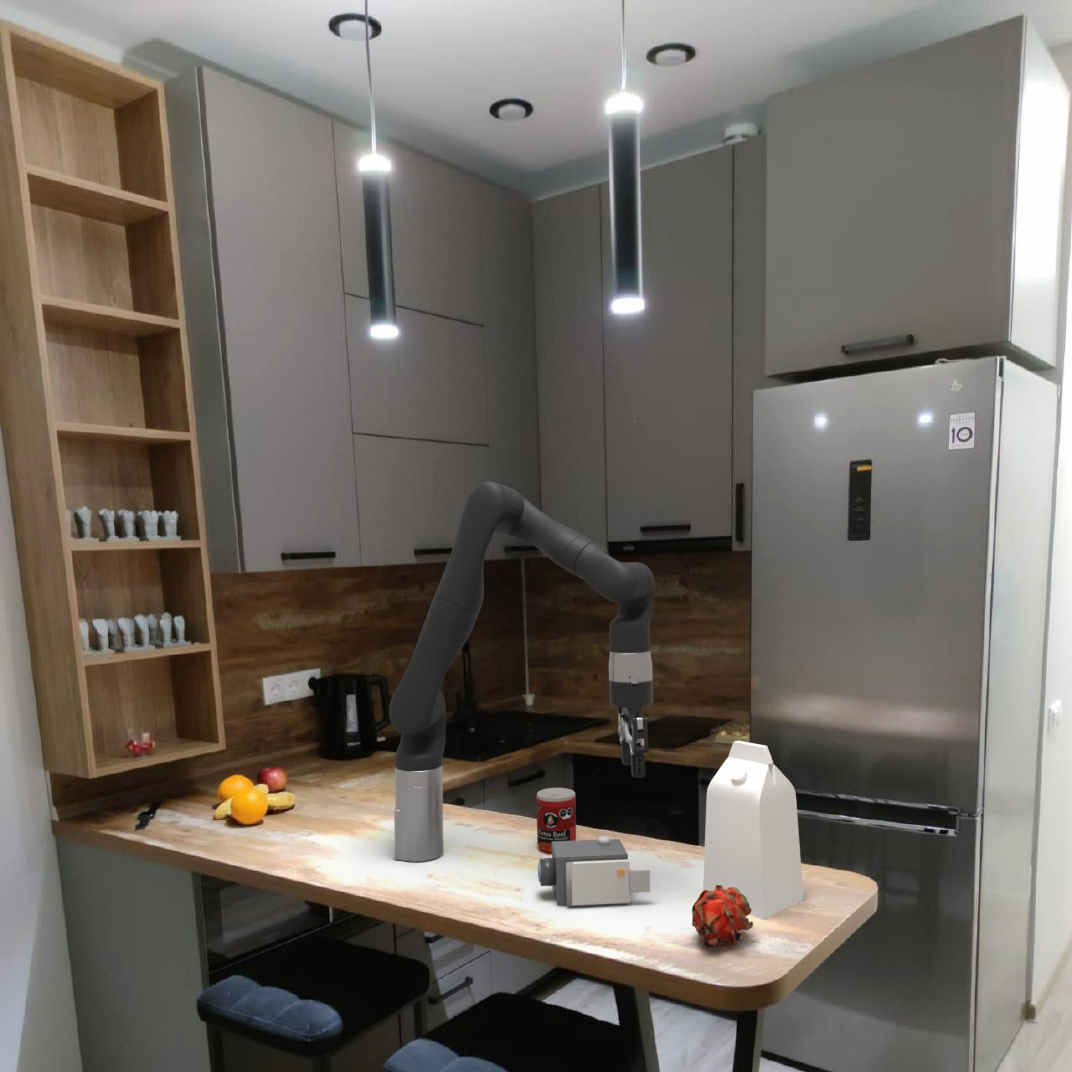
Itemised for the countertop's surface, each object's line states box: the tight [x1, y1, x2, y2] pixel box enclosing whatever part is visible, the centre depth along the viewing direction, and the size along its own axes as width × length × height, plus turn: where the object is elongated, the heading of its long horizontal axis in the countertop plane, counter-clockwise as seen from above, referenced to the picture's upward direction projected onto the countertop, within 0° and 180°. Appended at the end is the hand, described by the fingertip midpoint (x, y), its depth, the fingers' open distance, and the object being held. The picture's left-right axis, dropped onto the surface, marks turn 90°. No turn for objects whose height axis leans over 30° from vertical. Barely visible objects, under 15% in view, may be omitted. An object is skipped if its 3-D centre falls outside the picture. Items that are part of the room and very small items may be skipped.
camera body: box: [537, 835, 629, 907], centre depth 149 cm, size 15×8×9 cm, turn 95°
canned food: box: [536, 787, 577, 855], centre depth 173 cm, size 8×8×11 cm
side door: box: [565, 858, 651, 907], centre depth 145 cm, size 14×1×7 cm, turn 95°
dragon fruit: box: [691, 885, 754, 948], centre depth 131 cm, size 8×8×12 cm
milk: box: [702, 740, 804, 920], centre depth 147 cm, size 12×12×26 cm
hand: (633, 770), depth 151 cm, fingers open, 8 cm apart
